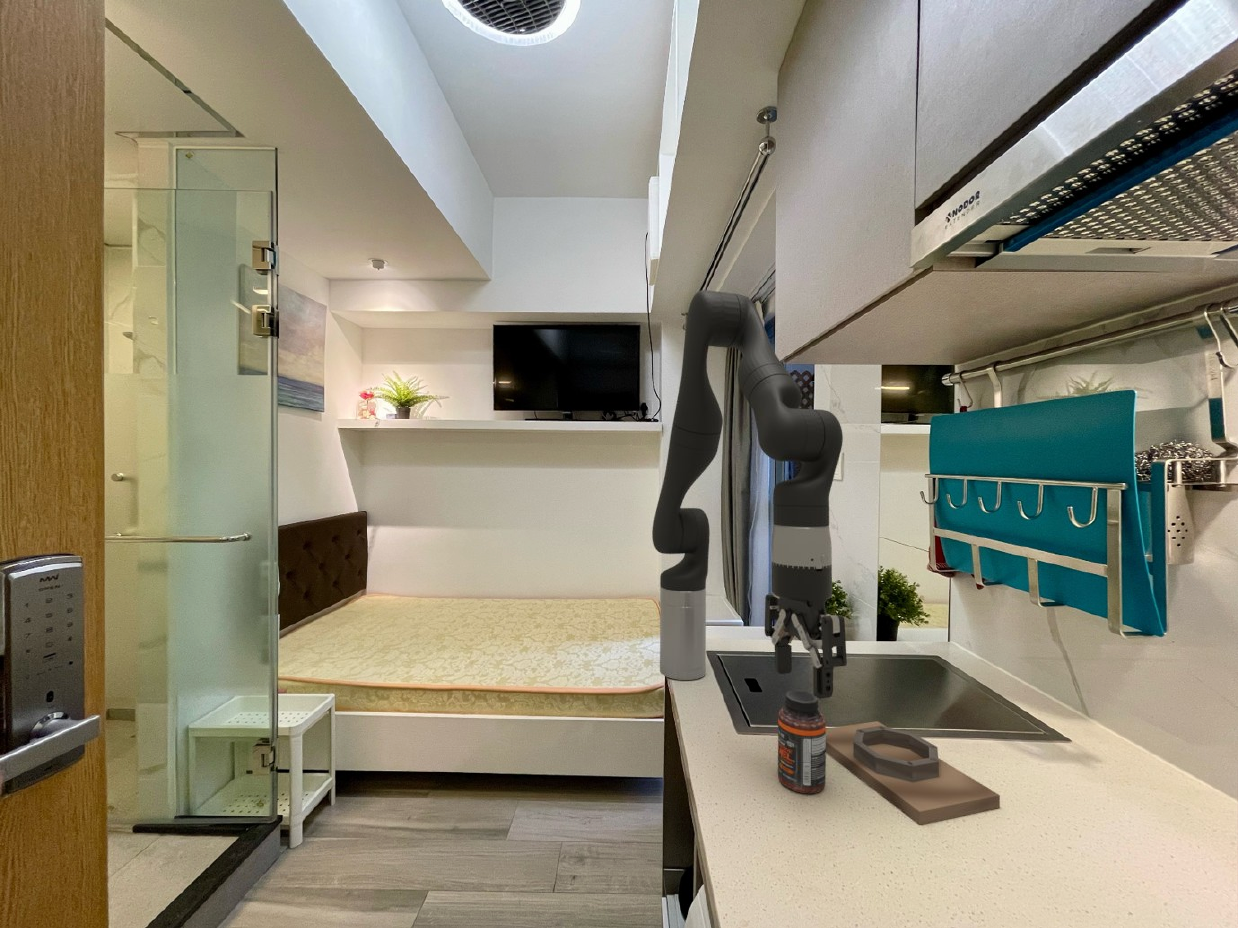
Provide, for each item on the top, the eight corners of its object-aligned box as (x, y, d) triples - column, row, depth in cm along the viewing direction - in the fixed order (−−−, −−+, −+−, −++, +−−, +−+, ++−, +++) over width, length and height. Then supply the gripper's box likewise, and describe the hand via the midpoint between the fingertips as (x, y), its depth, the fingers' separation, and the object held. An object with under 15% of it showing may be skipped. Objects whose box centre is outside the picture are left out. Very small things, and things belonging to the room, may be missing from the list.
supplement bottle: (768, 774, 71) (768, 689, 71) (804, 766, 73) (804, 683, 74) (798, 800, 66) (798, 707, 66) (836, 790, 68) (836, 700, 68)
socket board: (811, 740, 80) (811, 717, 80) (877, 730, 84) (877, 708, 84) (919, 824, 61) (919, 793, 61) (999, 807, 64) (999, 778, 64)
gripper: (748, 553, 76) (748, 668, 75) (809, 569, 62) (811, 710, 62) (794, 551, 78) (794, 663, 77) (863, 566, 64) (865, 702, 64)
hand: (802, 684), depth 70 cm, fingers open, 8 cm apart
